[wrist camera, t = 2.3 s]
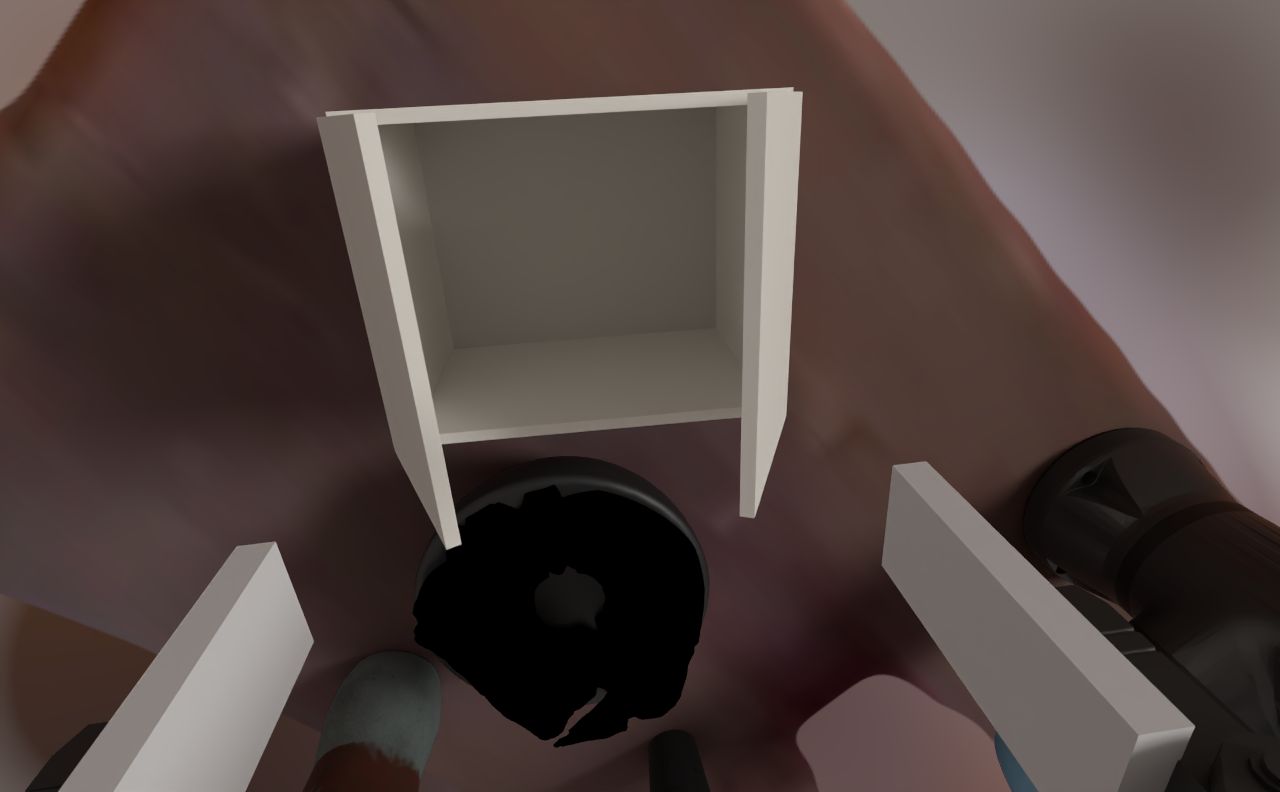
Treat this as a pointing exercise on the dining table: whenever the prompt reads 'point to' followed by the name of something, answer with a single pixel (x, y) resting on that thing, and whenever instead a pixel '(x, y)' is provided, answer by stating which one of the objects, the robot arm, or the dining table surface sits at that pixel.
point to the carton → (574, 258)
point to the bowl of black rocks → (566, 597)
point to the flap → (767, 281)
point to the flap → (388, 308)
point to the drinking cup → (675, 764)
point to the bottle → (379, 727)
